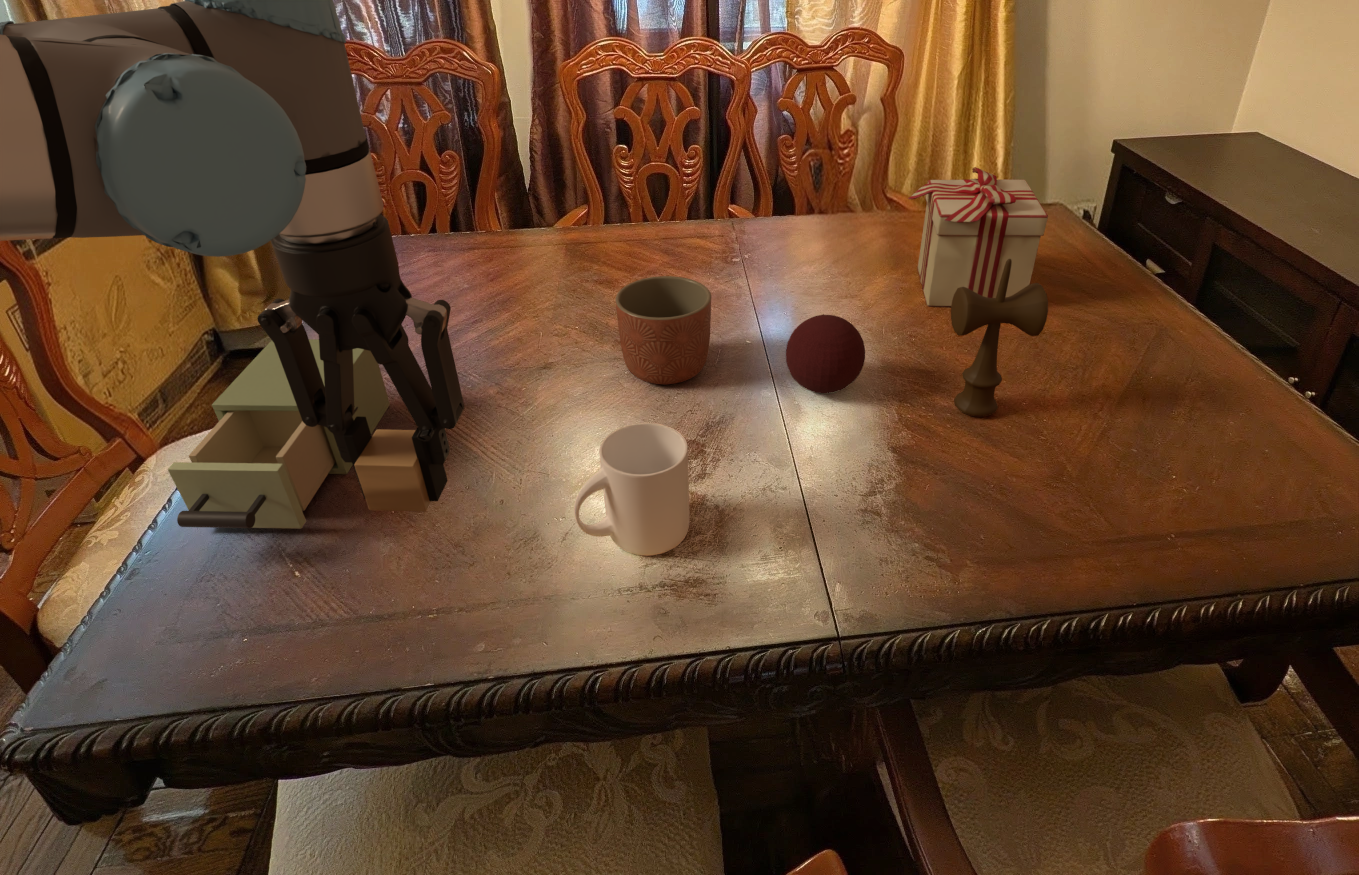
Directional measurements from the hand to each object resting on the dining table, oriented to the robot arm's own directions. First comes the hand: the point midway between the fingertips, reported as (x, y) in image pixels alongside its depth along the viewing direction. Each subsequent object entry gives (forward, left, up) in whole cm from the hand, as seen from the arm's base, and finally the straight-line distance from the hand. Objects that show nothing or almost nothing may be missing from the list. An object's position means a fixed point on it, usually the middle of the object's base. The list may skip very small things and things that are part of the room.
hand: (406, 489), depth 67 cm
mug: (+20, -1, -15) cm, 25 cm away
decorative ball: (+54, +11, -15) cm, 57 cm away
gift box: (+90, +22, -15) cm, 94 cm away
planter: (+39, +26, -15) cm, 49 cm away
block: (0, 0, 0) cm, 0 cm away
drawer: (-12, +24, -14) cm, 30 cm away
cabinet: (-5, +35, -15) cm, 38 cm away
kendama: (+67, -3, -15) cm, 69 cm away
